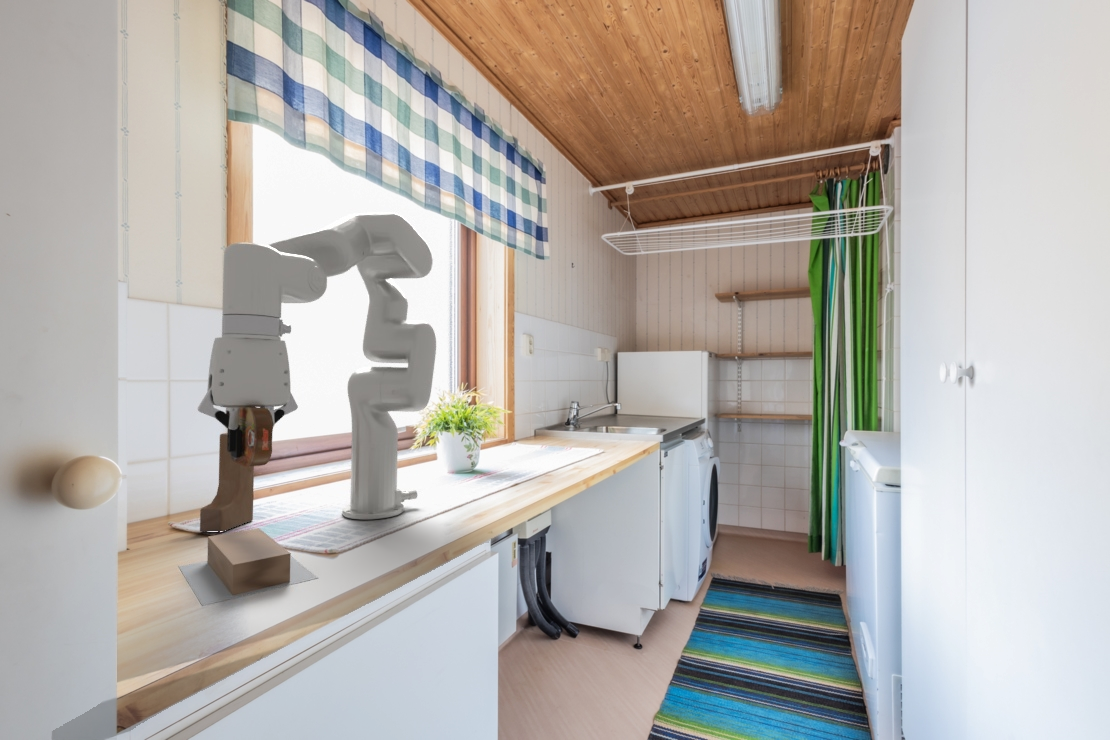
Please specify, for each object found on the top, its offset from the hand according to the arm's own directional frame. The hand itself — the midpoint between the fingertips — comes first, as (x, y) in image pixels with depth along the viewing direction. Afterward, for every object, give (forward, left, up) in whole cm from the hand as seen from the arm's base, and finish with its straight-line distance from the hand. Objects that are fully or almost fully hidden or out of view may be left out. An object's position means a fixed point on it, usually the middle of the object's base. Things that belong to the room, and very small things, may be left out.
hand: (249, 454), depth 78 cm
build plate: (0, 0, -18) cm, 18 cm away
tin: (0, 0, -1) cm, 1 cm away
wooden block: (-4, -32, -18) cm, 37 cm away
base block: (0, 0, -17) cm, 17 cm away
